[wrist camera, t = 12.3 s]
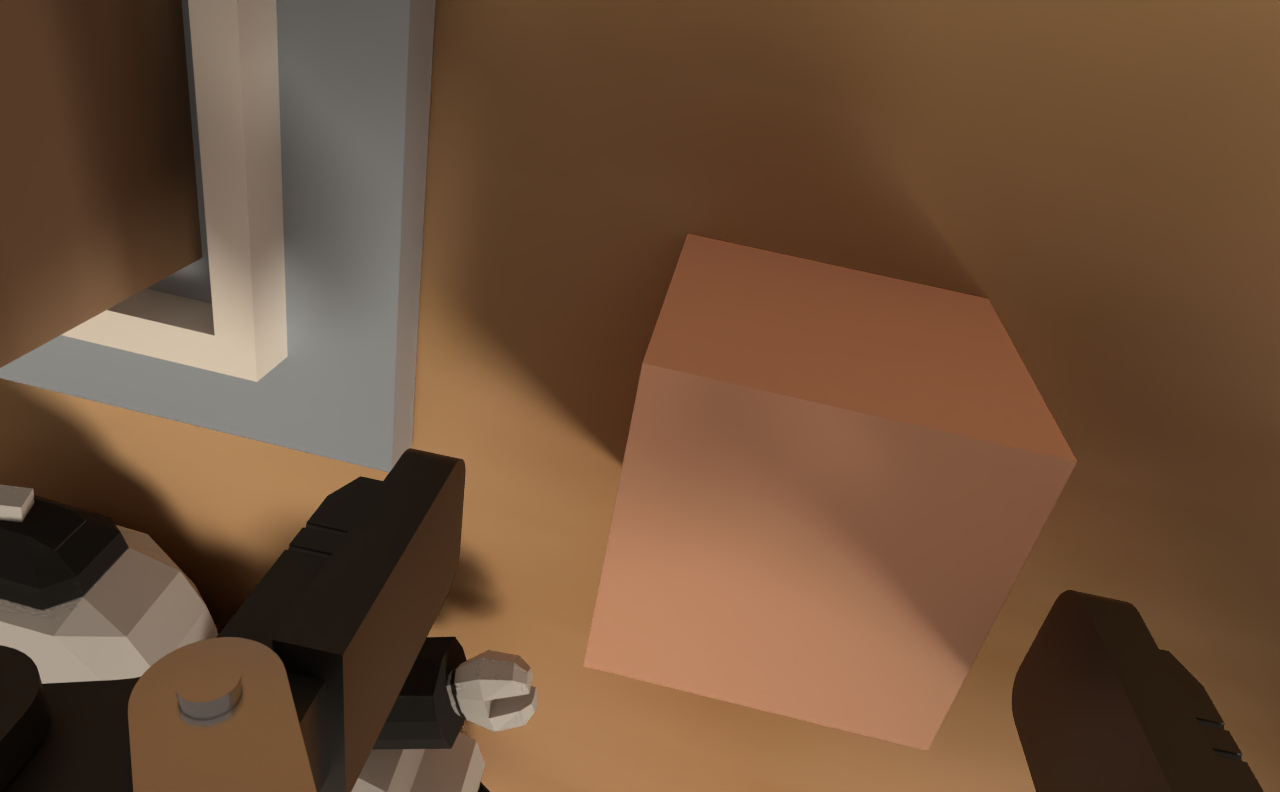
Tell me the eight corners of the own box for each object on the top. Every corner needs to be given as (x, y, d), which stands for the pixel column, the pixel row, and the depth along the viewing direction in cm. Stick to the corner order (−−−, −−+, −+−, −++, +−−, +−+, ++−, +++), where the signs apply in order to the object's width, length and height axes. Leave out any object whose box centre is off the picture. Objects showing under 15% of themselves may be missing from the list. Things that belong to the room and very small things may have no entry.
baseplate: (452, -317, 11) (389, -365, 9) (412, 445, 17) (368, 504, 15) (-394, -483, 12) (-604, -557, 10) (-148, 311, 17) (-252, 352, 16)
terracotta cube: (986, 297, 14) (1077, 462, 10) (891, 533, 16) (927, 750, 12) (688, 231, 14) (642, 363, 10) (637, 474, 17) (583, 666, 12)
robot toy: (585, 565, 19) (-98, 356, 18) (549, 735, 15) (-330, 482, 14) (470, 860, 25) (-45, 721, 24) (424, 1037, 21) (-195, 880, 20)
